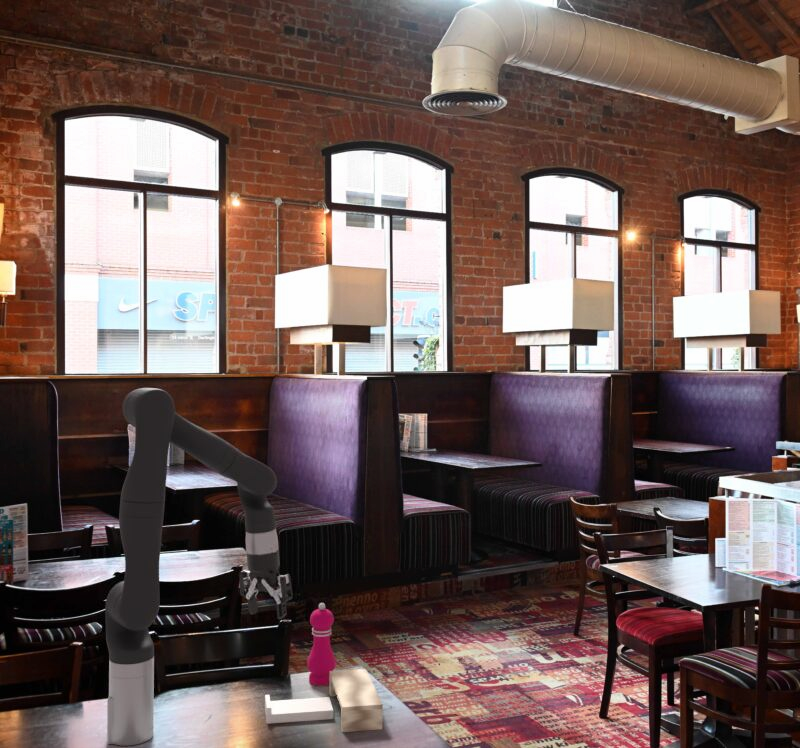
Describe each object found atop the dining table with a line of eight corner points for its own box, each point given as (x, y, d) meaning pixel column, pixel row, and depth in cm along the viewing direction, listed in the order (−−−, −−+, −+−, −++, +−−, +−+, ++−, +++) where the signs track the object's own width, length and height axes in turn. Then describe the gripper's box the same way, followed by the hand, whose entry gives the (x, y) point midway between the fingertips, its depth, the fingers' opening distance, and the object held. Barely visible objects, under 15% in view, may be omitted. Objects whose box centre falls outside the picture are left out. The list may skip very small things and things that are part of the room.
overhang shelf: (342, 732, 192) (342, 707, 192) (329, 693, 215) (329, 671, 215) (382, 729, 194) (382, 704, 194) (365, 691, 216) (365, 668, 216)
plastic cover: (266, 723, 196) (266, 708, 196) (264, 709, 204) (265, 694, 204) (333, 718, 199) (333, 703, 199) (328, 705, 207) (329, 690, 207)
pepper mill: (341, 681, 223) (342, 603, 223) (320, 688, 218) (320, 608, 217) (322, 674, 228) (323, 597, 228) (301, 681, 223) (301, 603, 222)
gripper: (228, 550, 207) (234, 617, 208) (275, 555, 200) (281, 624, 201) (250, 542, 214) (255, 607, 215) (296, 547, 206) (301, 614, 207)
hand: (267, 615), depth 208 cm, fingers open, 8 cm apart
